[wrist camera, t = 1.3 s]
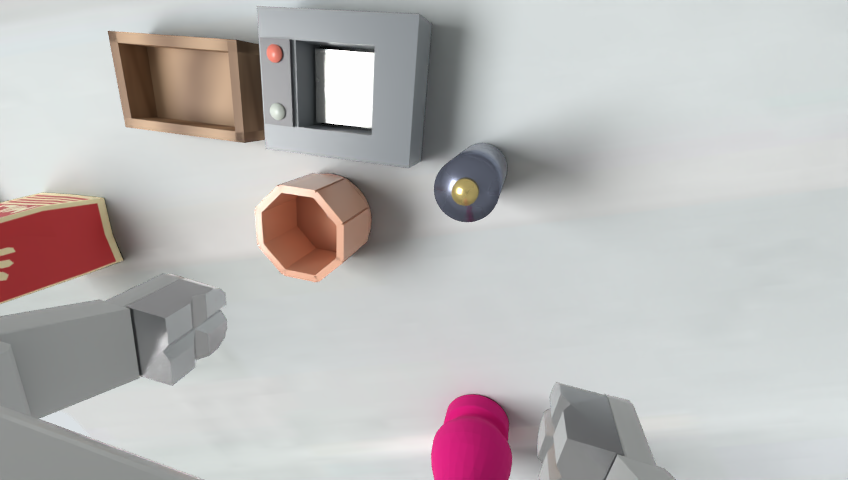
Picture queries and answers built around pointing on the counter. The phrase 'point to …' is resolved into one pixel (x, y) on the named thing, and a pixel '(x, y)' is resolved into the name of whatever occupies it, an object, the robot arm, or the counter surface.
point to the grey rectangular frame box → (392, 84)
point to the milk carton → (52, 241)
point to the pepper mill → (472, 441)
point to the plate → (344, 87)
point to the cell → (471, 183)
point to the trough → (190, 85)
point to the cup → (312, 225)
